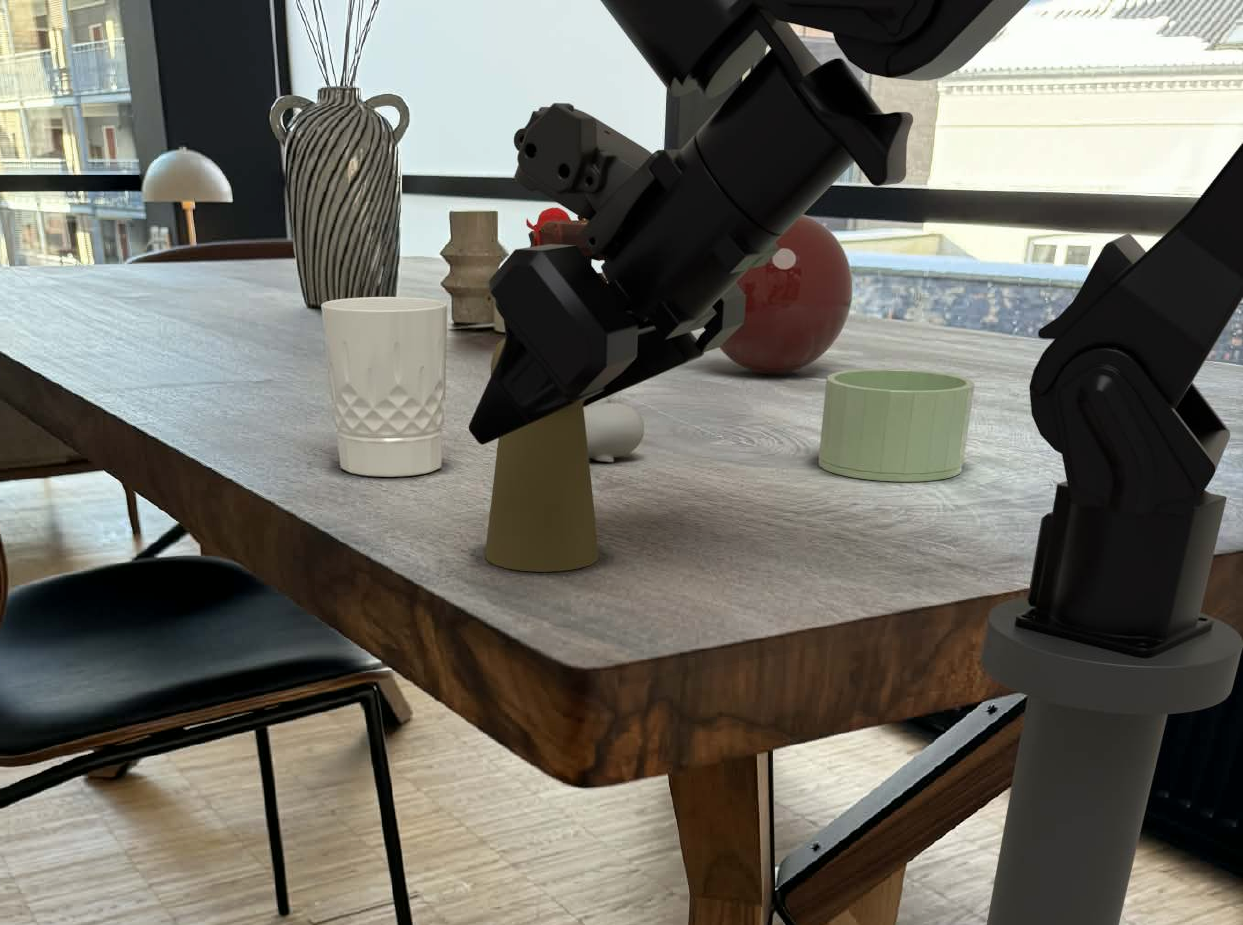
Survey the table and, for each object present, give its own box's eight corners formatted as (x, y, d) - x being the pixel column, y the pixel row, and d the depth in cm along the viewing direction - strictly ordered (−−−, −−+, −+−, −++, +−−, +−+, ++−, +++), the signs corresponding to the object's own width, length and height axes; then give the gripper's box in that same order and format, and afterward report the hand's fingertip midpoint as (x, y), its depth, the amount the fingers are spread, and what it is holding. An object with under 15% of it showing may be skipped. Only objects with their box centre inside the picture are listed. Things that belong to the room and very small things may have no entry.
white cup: (341, 482, 92) (330, 312, 87) (323, 458, 98) (313, 298, 93) (462, 476, 94) (459, 308, 89) (437, 452, 100) (433, 295, 95)
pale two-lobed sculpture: (619, 467, 102) (657, 457, 97) (518, 476, 98) (553, 466, 94) (612, 403, 101) (651, 389, 96) (510, 409, 97) (545, 395, 93)
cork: (469, 566, 75) (464, 337, 69) (505, 538, 80) (503, 323, 74) (581, 575, 73) (586, 343, 68) (611, 546, 78) (617, 328, 73)
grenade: (501, 399, 119) (500, 195, 112) (594, 394, 122) (598, 194, 114) (537, 419, 112) (538, 201, 104) (635, 413, 114) (643, 200, 106)
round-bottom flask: (671, 368, 134) (682, 121, 125) (785, 359, 140) (805, 122, 130) (753, 389, 124) (773, 122, 115) (874, 378, 130) (902, 123, 120)
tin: (988, 467, 97) (1002, 380, 94) (908, 488, 91) (920, 396, 89) (872, 447, 103) (881, 364, 100) (789, 465, 97) (797, 378, 94)
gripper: (703, 43, 71) (504, 278, 80) (532, 22, 56) (314, 312, 66) (842, 228, 72) (628, 438, 81) (709, 255, 57) (468, 507, 67)
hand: (518, 421), depth 74 cm, fingers open, 9 cm apart
